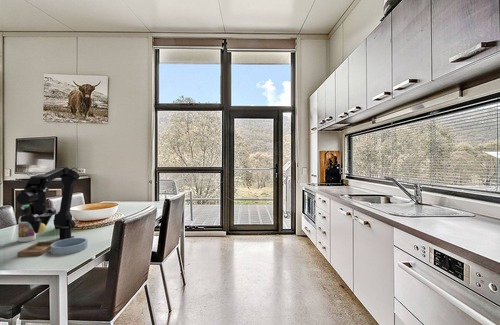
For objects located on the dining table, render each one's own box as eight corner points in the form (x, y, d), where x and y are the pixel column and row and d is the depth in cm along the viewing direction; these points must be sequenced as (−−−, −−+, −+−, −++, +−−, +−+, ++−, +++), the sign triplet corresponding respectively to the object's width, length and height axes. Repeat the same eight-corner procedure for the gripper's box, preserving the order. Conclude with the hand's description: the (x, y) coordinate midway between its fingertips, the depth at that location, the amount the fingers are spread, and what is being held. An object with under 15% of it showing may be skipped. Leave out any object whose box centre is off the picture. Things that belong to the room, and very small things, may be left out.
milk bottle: (22, 239, 155) (21, 204, 154) (38, 237, 158) (37, 203, 157) (15, 243, 148) (15, 207, 147) (32, 241, 150) (32, 206, 150)
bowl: (61, 245, 144) (61, 238, 144) (92, 244, 146) (92, 237, 146) (43, 256, 129) (43, 248, 129) (78, 254, 131) (78, 246, 131)
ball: (37, 231, 137) (37, 221, 137) (48, 231, 138) (48, 221, 138) (30, 234, 132) (30, 224, 132) (42, 234, 133) (41, 224, 133)
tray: (39, 246, 143) (38, 241, 143) (59, 245, 144) (59, 241, 144) (17, 257, 127) (17, 252, 127) (40, 256, 128) (40, 251, 128)
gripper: (33, 198, 143) (34, 227, 143) (7, 204, 124) (7, 237, 125) (56, 197, 145) (56, 226, 145) (33, 204, 126) (34, 237, 126)
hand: (39, 231), depth 135 cm, fingers closed on ball, 5 cm apart
